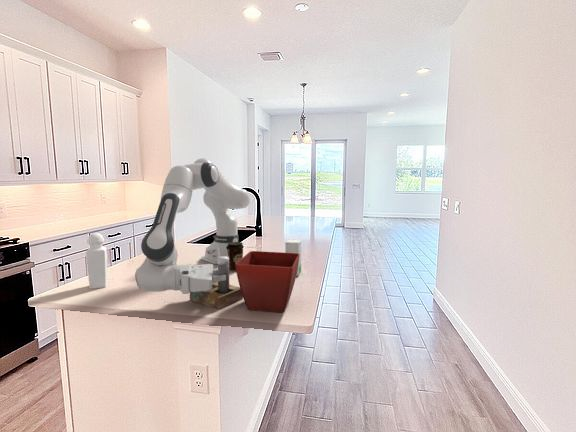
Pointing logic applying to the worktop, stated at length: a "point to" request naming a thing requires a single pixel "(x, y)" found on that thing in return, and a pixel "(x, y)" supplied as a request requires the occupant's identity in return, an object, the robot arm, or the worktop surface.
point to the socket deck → (217, 296)
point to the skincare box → (294, 251)
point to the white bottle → (96, 261)
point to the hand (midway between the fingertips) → (226, 275)
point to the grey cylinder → (223, 269)
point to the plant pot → (267, 279)
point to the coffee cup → (234, 254)
